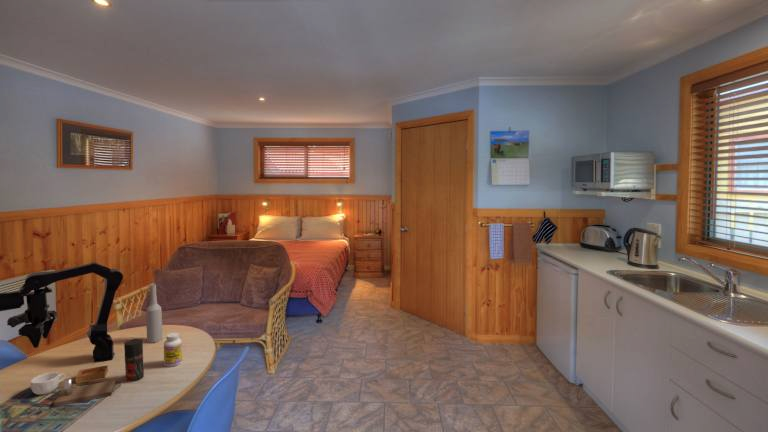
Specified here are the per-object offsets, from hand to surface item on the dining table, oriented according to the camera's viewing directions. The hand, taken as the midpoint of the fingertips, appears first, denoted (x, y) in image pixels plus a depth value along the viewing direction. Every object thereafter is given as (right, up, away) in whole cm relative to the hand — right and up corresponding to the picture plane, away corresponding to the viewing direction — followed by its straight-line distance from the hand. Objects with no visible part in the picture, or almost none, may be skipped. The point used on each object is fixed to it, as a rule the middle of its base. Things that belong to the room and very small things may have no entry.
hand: (40, 342), depth 146 cm
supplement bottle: (+46, -13, +12) cm, 50 cm away
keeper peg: (+24, -13, -15) cm, 31 cm away
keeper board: (+29, -15, -13) cm, 34 cm away
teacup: (+13, -14, -10) cm, 21 cm away
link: (+21, -14, -1) cm, 25 cm away
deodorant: (+38, -14, -1) cm, 41 cm away
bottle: (+24, -11, +34) cm, 43 cm away
